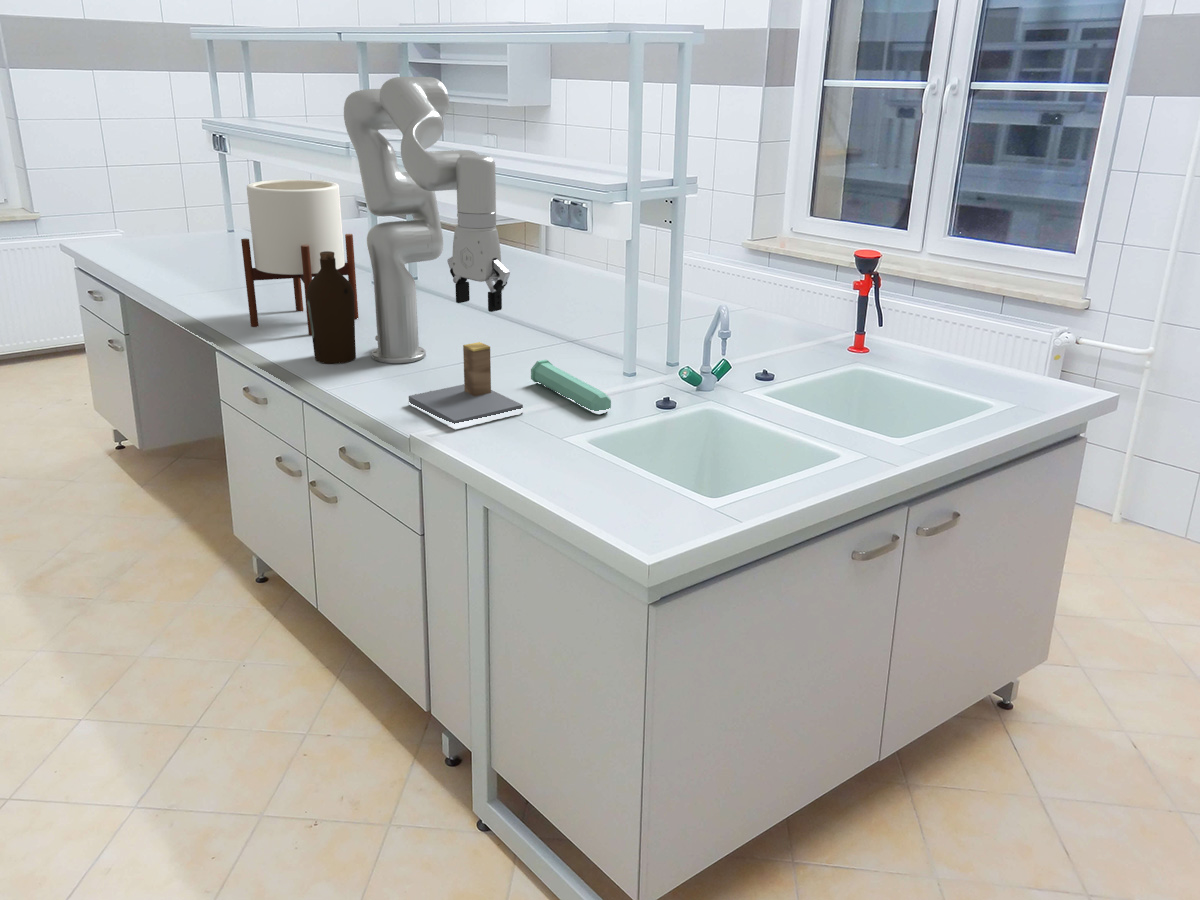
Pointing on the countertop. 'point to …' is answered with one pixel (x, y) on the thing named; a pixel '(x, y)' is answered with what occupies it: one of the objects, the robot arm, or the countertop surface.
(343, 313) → the olive oil
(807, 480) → the countertop surface
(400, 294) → the robot arm
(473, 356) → the block
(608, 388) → the countertop surface
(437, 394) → the board
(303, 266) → the plant pot with stand
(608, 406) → the container
